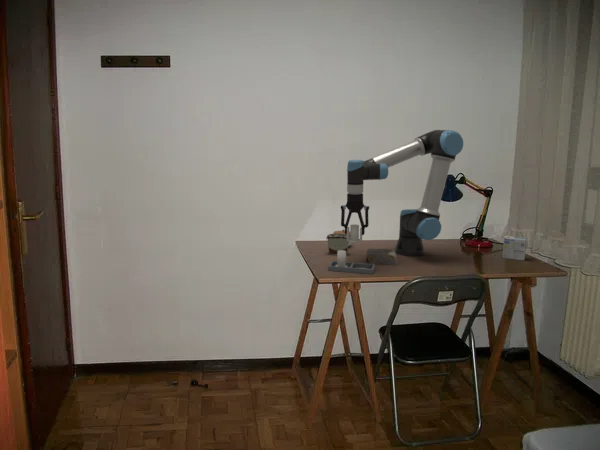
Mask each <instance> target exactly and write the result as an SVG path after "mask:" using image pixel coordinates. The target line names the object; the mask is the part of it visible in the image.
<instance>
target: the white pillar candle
mask: <svg viewBox="0 0 600 450" xmlns="http://www.w3.org/2000/svg"><path fill="white" fill-rule="evenodd" d="M349 231H350V239H349V242H350V243H351V244H358V243H361V242H360V224H353V223H352V224H350V226H349Z"/></svg>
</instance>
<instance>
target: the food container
mask: <svg viewBox="0 0 600 450" xmlns="http://www.w3.org/2000/svg"><path fill="white" fill-rule="evenodd" d="M349 239H350V236H349ZM326 240H327V248H328V249H327V250H328V255H330V256H331V255H332V256H334V255H335V256H337V251H339V250H344V251H346V256H348V250H349V246H350V245H349V241H347V235H346V234H333V233H329V234H327V236H326ZM348 245H349V246H348Z"/></svg>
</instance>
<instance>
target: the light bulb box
mask: <svg viewBox="0 0 600 450" xmlns="http://www.w3.org/2000/svg"><path fill="white" fill-rule="evenodd" d="M502 243H503V244H502V247H503V248H502V256H501V258H502V259H508V260H516V261H517V260H518V261H525V258H526V251H527V237H521V236H512V235H511V236H510V235H504V237H503V242H502Z"/></svg>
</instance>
